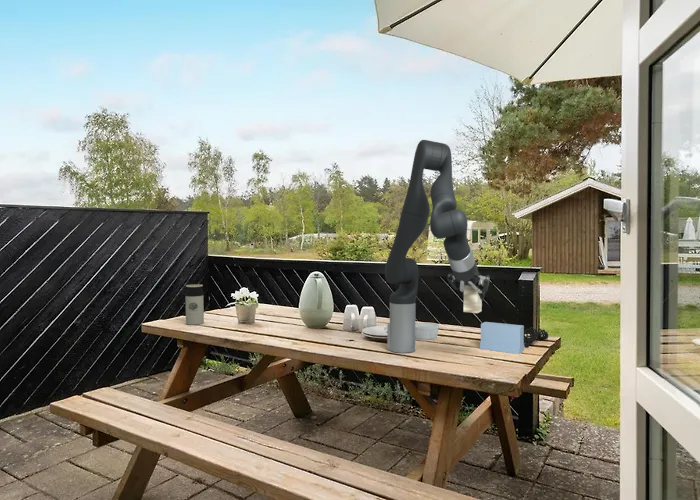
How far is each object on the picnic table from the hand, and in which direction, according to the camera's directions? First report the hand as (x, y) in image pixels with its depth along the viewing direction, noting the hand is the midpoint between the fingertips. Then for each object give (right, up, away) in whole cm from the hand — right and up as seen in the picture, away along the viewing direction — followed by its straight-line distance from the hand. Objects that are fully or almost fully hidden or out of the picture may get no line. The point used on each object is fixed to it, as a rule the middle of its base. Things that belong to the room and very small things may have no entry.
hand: (474, 296), depth 164 cm
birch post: (-1, -5, -1) cm, 5 cm away
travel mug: (-113, -19, +69) cm, 134 cm away
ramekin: (-11, -20, +38) cm, 44 cm away
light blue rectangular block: (+14, -21, +17) cm, 30 cm away
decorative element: (+29, -21, +27) cm, 45 cm away
